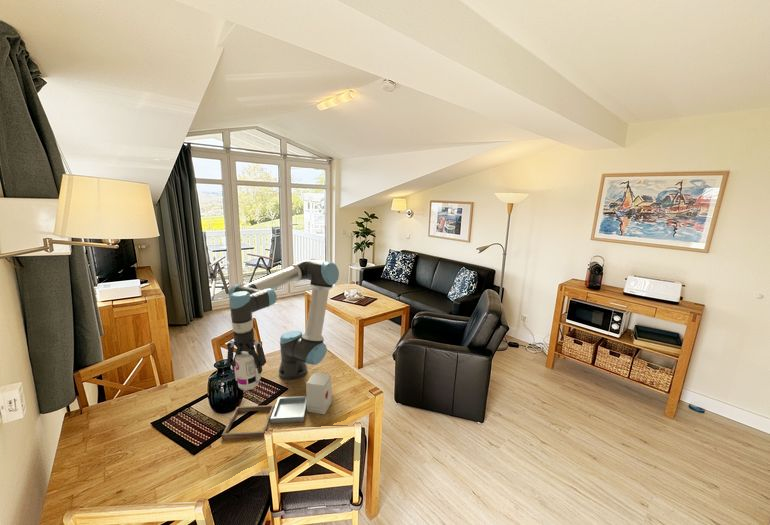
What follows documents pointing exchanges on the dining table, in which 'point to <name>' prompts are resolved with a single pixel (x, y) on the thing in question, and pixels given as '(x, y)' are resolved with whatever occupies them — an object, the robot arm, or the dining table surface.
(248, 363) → the supplement can
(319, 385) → the supplement box
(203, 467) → the dining table surface
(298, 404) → the tray
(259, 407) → the wooden frame
